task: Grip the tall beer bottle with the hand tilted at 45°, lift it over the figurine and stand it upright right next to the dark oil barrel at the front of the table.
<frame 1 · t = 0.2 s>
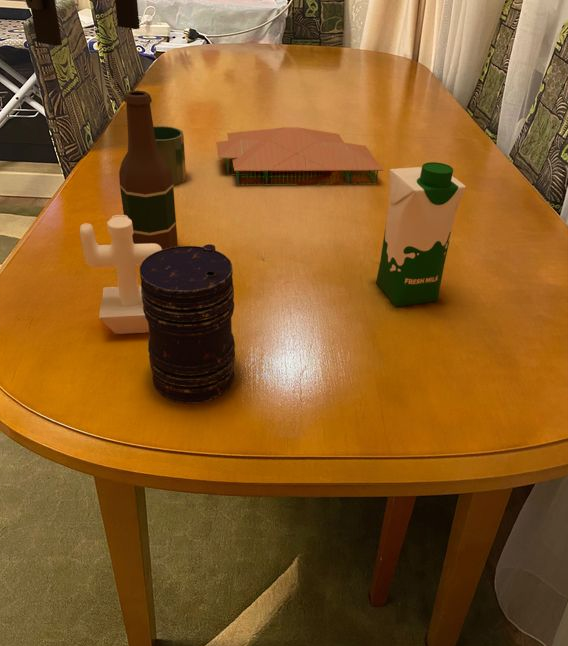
hand: (92, 35, 69), 33 cm above the table, tool pointing down, fingers open, 13 cm apart
milk carton: (405, 292, 92), on the table
beer bottle: (153, 251, 97), on the table
green mug: (164, 178, 121), on the table
dark oil barrel: (194, 377, 73), on the table
figurine: (133, 325, 81), on the table
house: (294, 166, 132), on the table
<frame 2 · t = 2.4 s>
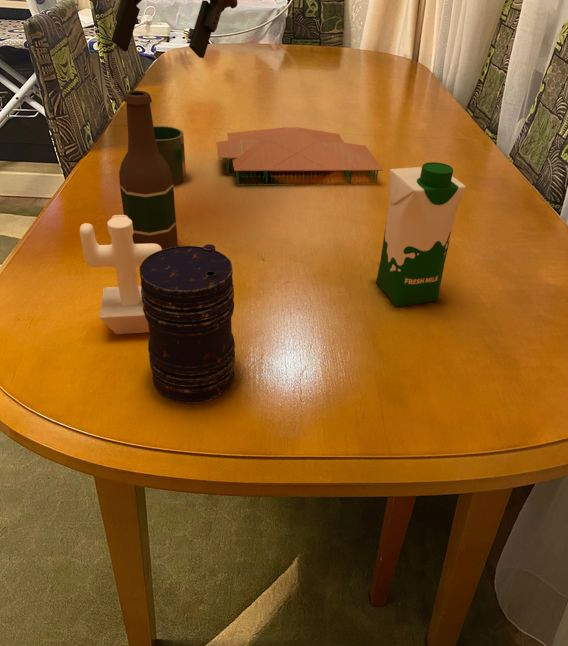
hand: (156, 49, 85), 28 cm above the table, tool tilted 40°, fingers open, 13 cm apart
nothing on the table moved.
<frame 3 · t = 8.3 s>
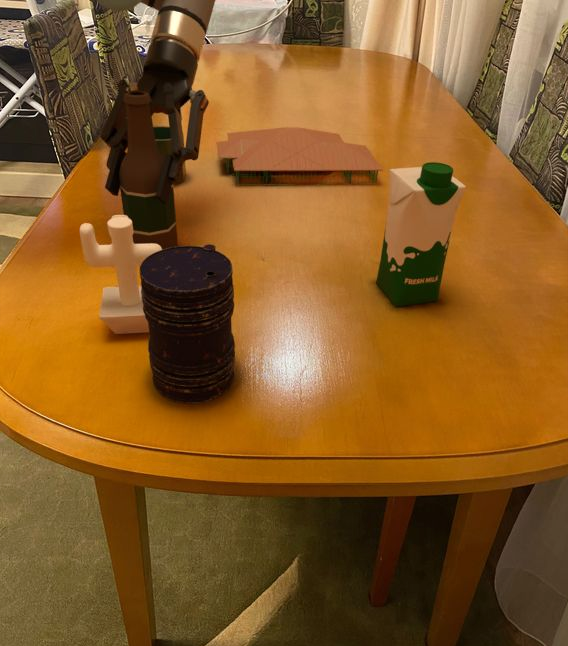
hand: (136, 195, 88), 11 cm above the table, tool tilted 45°, fingers closed on beer bottle, 7 cm apart
beer bottle: (153, 251, 97), on the table, touching gripper
everything else where it was.
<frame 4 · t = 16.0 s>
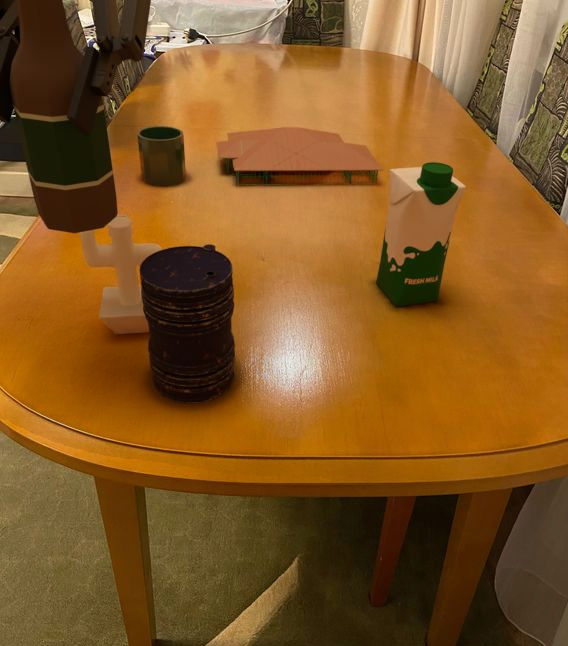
hand: (37, 119, 52), 30 cm above the table, tool tilted 45°, fingers closed on beer bottle, 7 cm apart
beer bottle: (79, 219, 61), point 19 cm above the table, touching gripper
everything else where it was.
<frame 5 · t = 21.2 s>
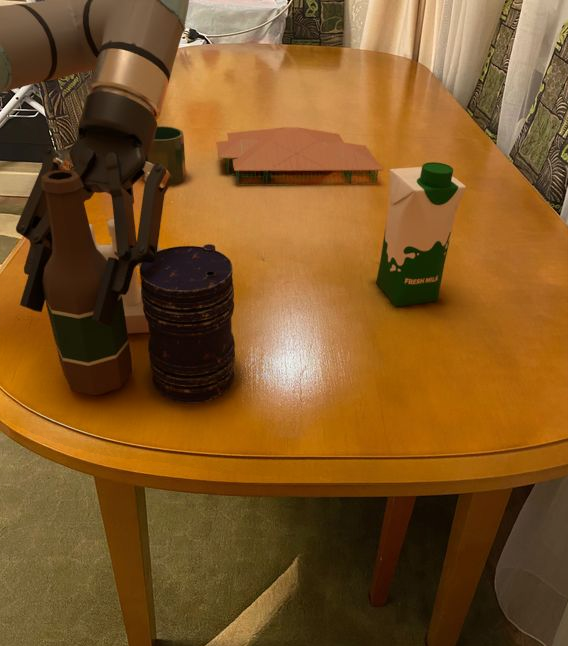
hand: (65, 315, 61), 12 cm above the table, tool tilted 45°, fingers closed on beer bottle, 7 cm apart
beer bottle: (99, 376, 70), point 1 cm above the table, touching gripper
everything else where it was.
when the fingers open (12 cm above the table, at t = 24.2 s): beer bottle drops 1 cm, on the table.
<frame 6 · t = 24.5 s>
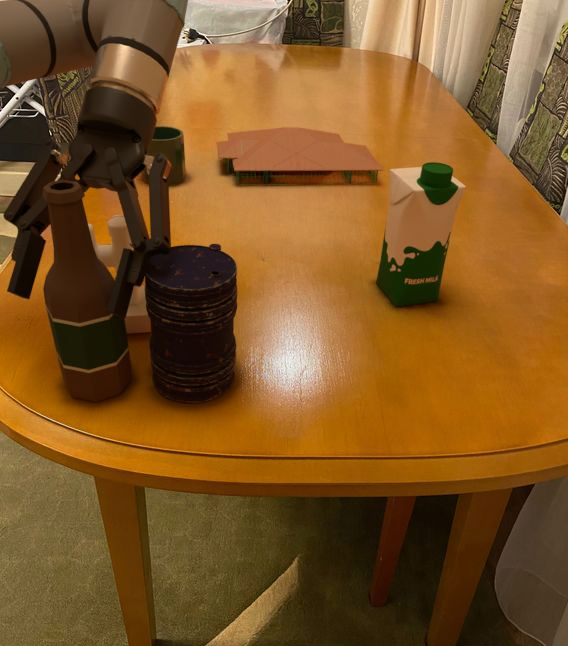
hand: (66, 305, 61), 13 cm above the table, tool tilted 45°, fingers open, 10 cm apart
beer bottle: (99, 383, 71), on the table
dark oil barrel: (194, 377, 73), on the table, touching gripper
everything else where it was.
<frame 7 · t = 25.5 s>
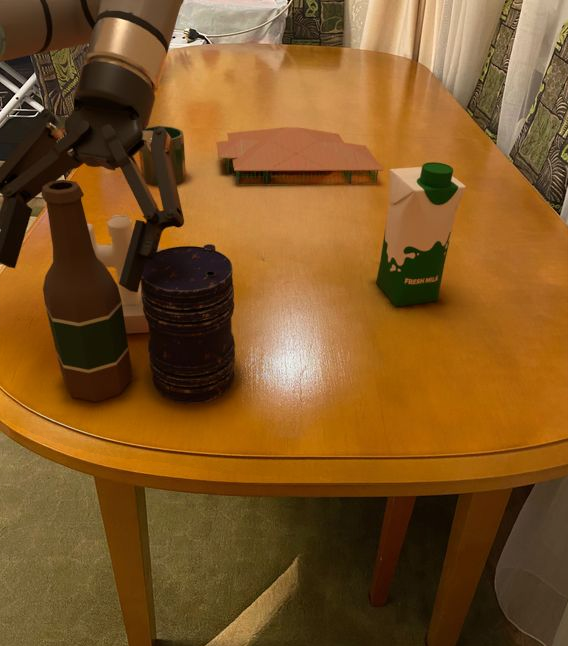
hand: (64, 276, 60), 15 cm above the table, tool tilted 45°, fingers open, 13 cm apart
dark oil barrel: (194, 378, 73), on the table
everything else where it was.
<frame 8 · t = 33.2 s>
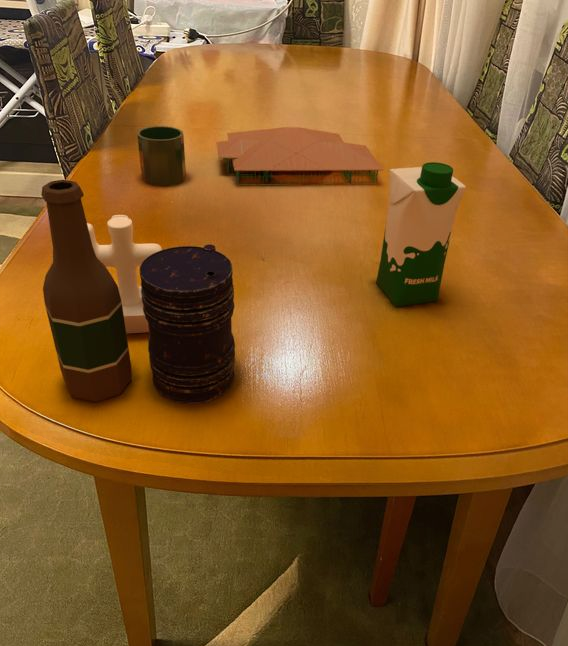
nothing on the table moved.
at the end: beer bottle 11.0 cm from the dark oil barrel (horizontally); beer bottle tilted 0°; the gripper is holding nothing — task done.
